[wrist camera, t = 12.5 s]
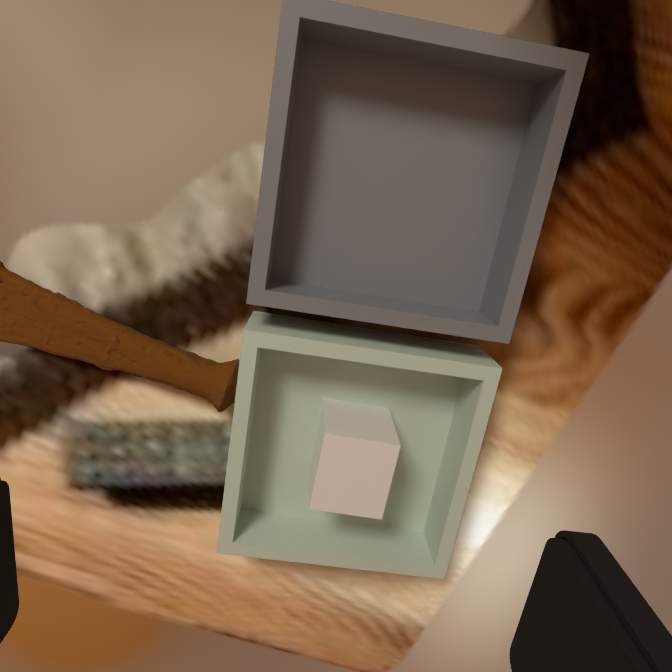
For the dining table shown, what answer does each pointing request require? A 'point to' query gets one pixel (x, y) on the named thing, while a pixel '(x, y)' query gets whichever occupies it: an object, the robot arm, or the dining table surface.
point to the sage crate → (301, 429)
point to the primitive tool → (105, 341)
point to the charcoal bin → (407, 169)
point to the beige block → (353, 459)
